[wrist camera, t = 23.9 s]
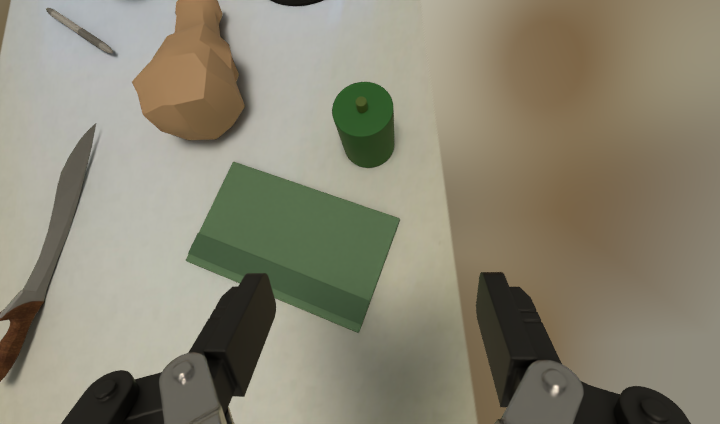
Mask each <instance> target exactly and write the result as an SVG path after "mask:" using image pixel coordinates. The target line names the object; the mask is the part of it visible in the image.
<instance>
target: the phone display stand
mask: <svg viewBox="0 0 720 424" xmlns="http://www.w3.org/2000/svg"><path fill="white" fill-rule="evenodd" d="M271 1H273V2H275V3H278V4H282V5H288V6H304V5H310V4H314V3H317V2H320V1H323V0H271Z"/></svg>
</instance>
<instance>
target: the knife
mask: <svg viewBox="0 0 720 424" xmlns="http://www.w3.org/2000/svg"><path fill="white" fill-rule="evenodd" d="M95 127H96V123H95V124H94V125H93V126H92V127H91V128H90V129H89V130H88V131H87V132H86V133H85V134H84V136H83V137H82V138H81V139H80V141H79V142H78V144H77V145H76V147H75V148H74V150H73V151H72V153H71V154H70V156H69V158H68V160H67V162H66V164H65V166H64V168H63V170H62V172H61V175H60V179H59V183H58V186H57V191H56V197H55V202H54V207H53V211H52V216H51V220H50V225H49V229H48V233H47V236H46V239H45V242H44V245H43V248H42V251H41V254H40V257H39V259H38V261H37V263H36V265H35V267H34V269H33V271H32V273H31V275H30V278H29V279H28V281H27V283H26V285H25V286H24V288H23V290H21V291H20V292H19V293H18V294H17V295H16V296H15V298H14V299H13V300H12V301H11V302H10V303H9V305H8V306H7V307H6V308H5V309H4V310H3V311H1V312H0V321H3V320H10V327H9V329H8V331H7V333H6V335H5V336H4V337H3V339H2V340H1V341H0V381H1V380H2V379H3V378H4V377H5V376H6V375H7V373H8V372H9V370H10V369H11V367H12V366H13V364H14V362H15V361H16V359H17V357H18V355H19V353H20V350H21V348H22V345H23V343H24V340H25V338H26V335H27V332H28V330H29V327H30V325H31V323H32V321H33V319H34V317H35V315H36V313H37V312H38V310H39V309H40V307H41V305H42V304H43V303H44V299H45V295H46V290H47V288H48V285H49V282H50V279H51V277H52V274H53V271H54V268H55V265H56V263H57V260H58V257H59V255H60V253H61V250H62V248H63V245H64V243H65V240H66V238H67V236H68V232H69V229H70V226H71V223H72V220H73V217H74V214H75V210H76V207H77V204H78V200H79V196H80V192H81V188H82V184H83V180H84V176H85V172H86V168H87V164H88V160H89V156H90V152H91V148H92V143H93V137H94V132H95Z"/></svg>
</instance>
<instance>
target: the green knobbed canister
mask: <svg viewBox="0 0 720 424" xmlns="http://www.w3.org/2000/svg"><path fill="white" fill-rule="evenodd" d="M332 115H333V119H334V122H335V125H336V127H337V130H338V133H339V136H340V138H341V141H342V144H343V147H344V149H345V152H346V155H347V156H348V158H349V159H350V160H351V161H352V162H353V163H354V164H356V165H358V166H361V167H366V168H371V167H376V166H379V165H381V164H383V163H384V162H386V161H387V160H388V159H389V157H390V156H391V154H392V152H393V150H394V113H393V102H392V99H391V96H390V95H389V93H388V92H387V91H386V90H385V89H384V88H383V87H381V86H379V85H377V84H375V83H371V82H358V83H354V84H352V85H349V86H348V87H346V88H344V89H343V90H342V91H341V92H340V93H339V94H338V96H337V97H336V99H335V101H334V103H333V108H332Z"/></svg>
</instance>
